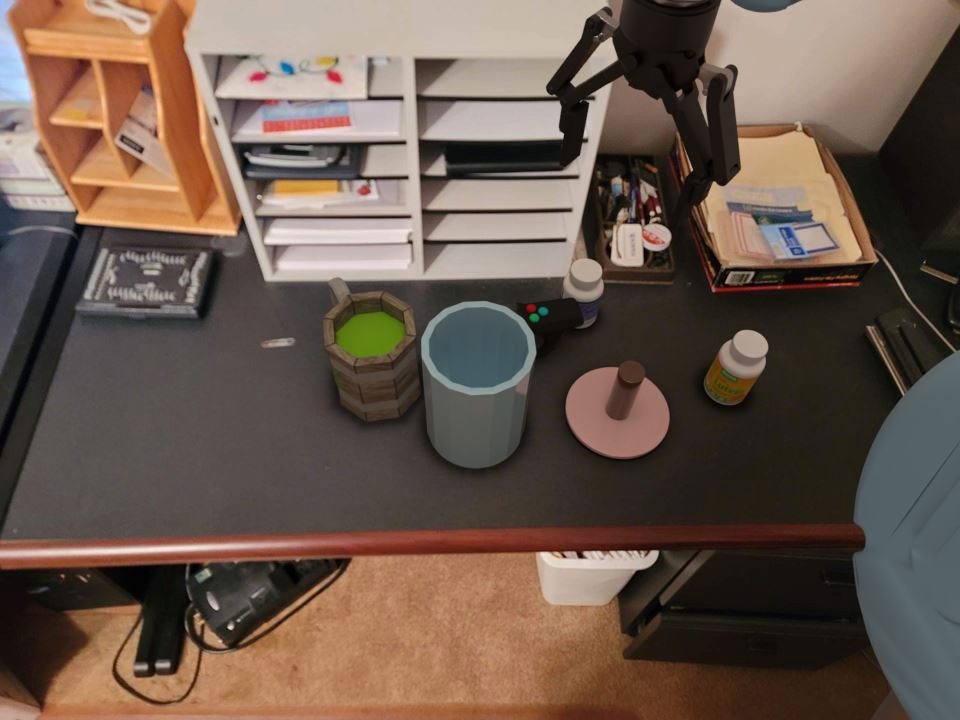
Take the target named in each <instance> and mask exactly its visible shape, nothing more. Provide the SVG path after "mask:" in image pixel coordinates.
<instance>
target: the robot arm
mask: <svg viewBox="0 0 960 720" xmlns="http://www.w3.org/2000/svg"><path fill="white" fill-rule="evenodd" d="M802 1H803V0H730V2H731V3H733V4H734V5H736V6H738V7H739V8H741V9H743V10H745V11H749V12H753V13H759V14H760V13H761V14H768V13H769V14H770V13H777V12H781V11H783V10H784V11H785V10H786V9H787V8H788V7H790V6H793V5H795V4H797V3H800V2H802ZM946 2H947V3H948V4H950V5H951V6H952V7H953V9H954V10H956V11H957V12H958V13H959V14H960V0H946ZM721 4H722V0H622V3H621V8H620V12H619V21H618V20H617V19H615V18H614V17H613V15H614V13H613V10H612V8H611V7H609V6H603V7H602V8H600V9H599V10H597V11H596V12H594V13H593V14H591V15H590V16H589V17H587V18H586V20H585V21H584V22H585V23H584V24H583V25H584V26H583V29H582V33H581V36H580V37H581V38H580V39H578V42H577V43H576V44H575V45H574V47H573V49H571V51H570V53H569V54H568V55H567V57H566V58H565V59H564V60H563V62H562V63H561V64H560V66H559V67H558V68H557V70H556V71H555V73H554V74H553V75H552V77H551V78H550V79H549V81H548V82H547V83H546V85H545V91H546V93H547V94H548V95H550V96H556V97H557V99H559V105H560V107H561V108H560V112H559V113H560V115H559V121H558V130H559V132H560V133H562V134H563V138H562V143H561V151H560V156H559V157H560V158H559V163H558V165H559V166H561V167H562V168H564V169H566V168H567V167H568V166H569V165H570V164H572V163H573V162H574V161H575V160H576V159H577V158H579V157H580V156H581V152H582V148H583V141H584V136H585V131H586V125H587V120H588V116H589V115H588V114H589V109H590V102H589V101H587V100H585V99H586V98H588V97H589V96H591V95H592V94H594V93H596V92H598V91H600V90H601V89H602V88H605V86H607V85H609V84H611V83H614V82H615V81H616V80H618V79H620V78H621V77H624V79H625V81H626V82H628V84H627V86H628V87H630V88H632V89H634V90H638V91H642V92H644V93H645V94H646V95H647V96H648V97H650V98H652V99H653V100H655V101H658V100H660V99H661V101H662V104H663V106H664V109H665V111H666V113H667V114H668V115H670V116H671V117H672V119H673V122H674V124H675V127H676V130H677V132H678V135H679V138H680V140H681V142H682V146H683V148H684V151H685V153H686V156H687V158H688V161H689V163H690V164H689V165H690V167H691V169H692V170H691V171H690V172H689V173H687V175H686V176H685V179H684V181H683V184H682V187H681V189H680V193H679V195H678V199H677V202H676V204H675V207H674V209H673V213H672V215H671V218H670V221H669V224H668V227H667V229H670V230H671V231H673V232H676V231H677V230H678V229H679V228H680V227H681V226H682V225H683V224H684V223H685V222H686V221H687V220H688V219H689V217H690V216H691V213H692V211H693V207H695V208H697V207H698V206H699V205H701V204H702V203H703V202H704V201H705V200H706V199H707V197H708V196H709V193H710V191H711V188H712V186H713V184H714V183H716V184H717V185H718V186H719V187H725V186H727V185H728V184H729V183H730V182H731V181H732V180H733V179H734V178H735V177H736V176H737V175H738V174H739V173H740V172H741V170H742V164H741V162H742V161H741V154H740V153H741V151H740V145H739V134H738V125H737V124H738V123H737V113H736V103H735V93H734V92H735V88H736V83H737V79H738V75H739V69H738V67H737V66H736V65H735V64H732V63H730V64H727V65H726V66H725V67H724V68H723V67H720V66H717V65H714V64H710V63H708V62H707V59H706V48H707V46H708V43H709V42H710V41H709V40H710V38H711V36H712V32H713V29H714V26H715V23H716V19H717V17H718V13H719V10H720V6H721ZM610 38H611V41H612V46H613V48H614V51H615V54H616V58H617V60H615V61H613V62H612V63H610V64H609V65H607V66H606V67H604V68H603V69H601V70H599V71H598V72H597V73H595V74H593V75H591V76H590V77H588V78H587V79H585V80H584V81H582V82H581V83H579V84H578V85H576V86H575V85H574V84H573V83H572V81H573V80H574V78H575V77H576V76H577V75H578V74H579V72H580V71H581V69H582V68H584V66H585V64H586V63H587V62H588V61H589V59H590V58H591V57H592V56H593V54H594V53H595V51H596V50H597V49H598V48H599V47H600V45H601V44H603V43H605V42H606V41H608V40H609V39H610ZM696 80H699V81H700V82H701V83H702V90H701V93H702V95H703V96H704V97H705V113H706V118H705V114H704V113H703V109H702V107H701V104H700V101H699V96H700V91H699V88H698V84H697V82H696ZM679 91H681V94H680V95H679V96H678V94H677V93H678V92H679ZM861 470H862V471H861V474H860V478H859V482H858V485H857V489H856V494H855V501H854V511H853V519H852V520H853V522H854V524H855V525H856V526H858V527H860V529H861V530H862V531H863V534H864V537H865V543H864V544H865V545H864V548H863V550H860V551H857V552H854V553H853V555H852V566H853V574H854V582H855V590H856V596H857V599H858V604H859V608H860V611H861V615H862V618H863V623H864V627H865V630H866V634H867V636H868V639H869V642H870V645H871V647H872V650H873V653H874V655H875V657H876V659H877V661H878V664H879V666H880V668H881V670H882V672H883V674H884V676H885V678H886V680H887V682H888V684H889V686H890V687H891V689H890V690H889V692H888V694H887V695H886V696H885V697H884V699H883V701H882V702H881V704H880V705H879V707H878V708H877V709H876V711H875V712H874V714H873V715H872V717H871V718H870V720H960V349H958V350H956V351H955V352H953V353H952V354H950V355H949V356H947V357H945V358H944V359H942V360H941V361H940V362H938V363H937V364H936V365H934V366H933V367H931V368H930V369H929V370H928V371H927V372H926V373H925V374H924V375H922V376H921V377H920V378H919V379H918V380H916V382H915V383H914V384H913V385H912V386H911V387H910V388H909V389H908V390H907V391H906V392H905V394H903V396H902V397H901V398H900V399H899V400H898V402H897V403H896V404H895V405H894V407H893V408H892V410H891V411H890V412H889V413H888V414H887V416H886V419H885V420H884V422H883V423H882V425H881V426H880V429H879V430H878V432H877V434H876V436H875V438H874V440H873V441H872V444H871V446H870V448H869V451H868V454H867V456H866V459H865V461H864V465H863V467H862V469H861Z"/></svg>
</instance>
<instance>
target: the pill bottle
mask: <svg viewBox="0 0 960 720" xmlns="http://www.w3.org/2000/svg"><path fill="white" fill-rule="evenodd" d="M602 277H603V268H602V265H601V264H600V263H599V262H598V261H596V260H593V259H591V258H585V257H584V258H579V259H576V260H575V261H574V262H573V263H571V266H570V270H569V272H568V273H567V274H566V275H565V277H564V278H563V282H562V285H561V286H562V287H561V292H560V297H559V299H563V298H571V297H572V298H574V299H576V300H577V302H578V304H579V306H580V308H581V311H582V313H583V317H584V323H583V325H582V326H579V327H576V328H575V329H585V328H588V327H590V326H592V325H593V324H594V323H595V321H596V320H597V318H598V313H599V309H600V305H601V302H602V298H603V295H604V289H605V286H604V284H605V283H604V281H603V279H602Z"/></svg>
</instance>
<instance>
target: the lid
mask: <svg viewBox="0 0 960 720" xmlns="http://www.w3.org/2000/svg"><path fill="white" fill-rule="evenodd" d="M564 406H565V407H564V408H565V409H564V412H565V419H566V422H567V424H568V426H569V428H570V430H571V432H572V434H573V435H574V436H575V438H576V439H577V440H578V441H579V442H580V443H581V444H582V445H583V446H585V447H586V448H587V449H589V450H590V451H592V452H594V453H596V454H598V455H600V456H603V457H606V458H610V459H618V460H630V459H637V458H639V457H643V456H645V455H647V454H649V453H651V452H652V451H654V450H655V449H656V448H657V447H658V446H659V445H660V444H661V443H662V442H663V440H664V438H665V437H666V435H667V433H668V430H669V426H670V420H671V418H670V409H669V406H668V403H667V400H666V398H665V396H664V395H663V393H662V392H661V390H660V389H659V388H658V386H657V385H656V384H654V383H653V381H651V380H650V379H649V378H647V377H646V370H645V368H644V366H643V364H641V363H640V362H637V361H634V360H626V361H624V362H622V363H621V364H619V366H618V367H617V366H608V367H598V368H596V369H591V370H590V371H587V372H586V373H584V374H583V375H581V376H579V378H577V379H576V380H575V381H574V383H573V384H572V385H571V387H570V389H569V390H568V393H567V395H566V399H565V405H564Z"/></svg>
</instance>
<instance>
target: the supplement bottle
mask: <svg viewBox="0 0 960 720" xmlns="http://www.w3.org/2000/svg"><path fill="white" fill-rule="evenodd" d="M768 351H769V344H768V341H767V339H766V338H765V337H764V336H763V334H761V333H759V332H757V331H755V330H751V329H743V330H740V331H738V332H737V333H736V334H735V335H734V336H733V338H732V339H729V340H728V341H726V342H724V344H723V345H722V346H721V347H720V348H719V350H718V352H717V354H716V356H715V358H714V361H713V362H712V364H711V365H710V367H709V370H707V372H706V375H705V377H704V381H703V387H704V391H705V393H706V394H707V395H708V397H709V398H711V400H713V401H714V402H716V403H718V404H719V405H724V406H734V405H738V404H740V403H741V402H743V400H745V398H746V397H747V395H748V393H749V392H750V391H751V389H752V387H753V386H754V385H755V383H756V381H757V380H758V378H759V377H760V376H761V374H762V372H763V371H764V369H765V367H766V364H767V359H766V355H767V353H768Z"/></svg>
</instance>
